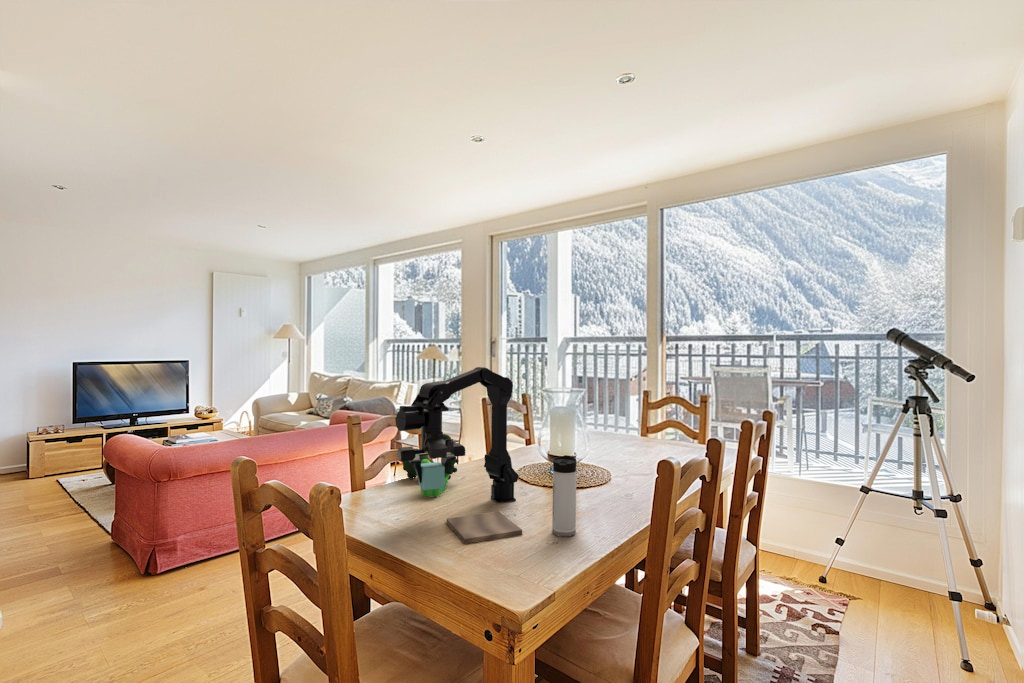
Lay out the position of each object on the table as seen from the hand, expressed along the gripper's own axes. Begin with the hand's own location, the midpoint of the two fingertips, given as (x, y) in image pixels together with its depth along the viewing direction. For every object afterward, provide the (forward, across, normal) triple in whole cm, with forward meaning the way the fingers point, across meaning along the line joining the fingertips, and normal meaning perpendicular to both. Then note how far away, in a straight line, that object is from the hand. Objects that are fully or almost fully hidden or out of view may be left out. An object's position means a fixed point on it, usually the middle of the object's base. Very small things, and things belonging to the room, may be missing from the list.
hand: (431, 481), depth 143 cm
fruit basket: (+11, +7, +24) cm, 27 cm away
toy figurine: (+11, +9, +39) cm, 41 cm away
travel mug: (+11, +30, -24) cm, 40 cm away
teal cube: (+1, 0, 0) cm, 1 cm away
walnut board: (+10, +11, -13) cm, 20 cm away
